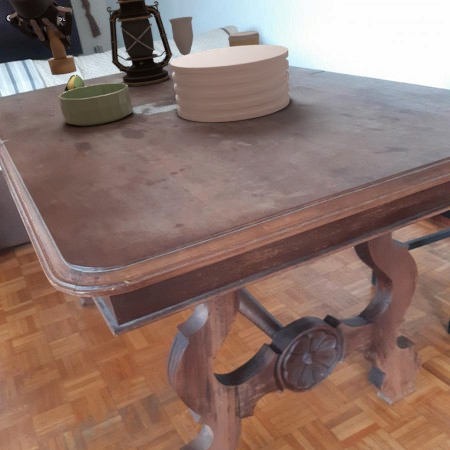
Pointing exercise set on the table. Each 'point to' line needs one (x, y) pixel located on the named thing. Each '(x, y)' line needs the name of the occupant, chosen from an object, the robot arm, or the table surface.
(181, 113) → the plate stack
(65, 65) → the pestle
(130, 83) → the lantern
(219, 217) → the table surface
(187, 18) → the chalice
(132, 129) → the table surface
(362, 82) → the table surface
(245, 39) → the coffee cup
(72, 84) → the edible corn
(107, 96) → the bowl
